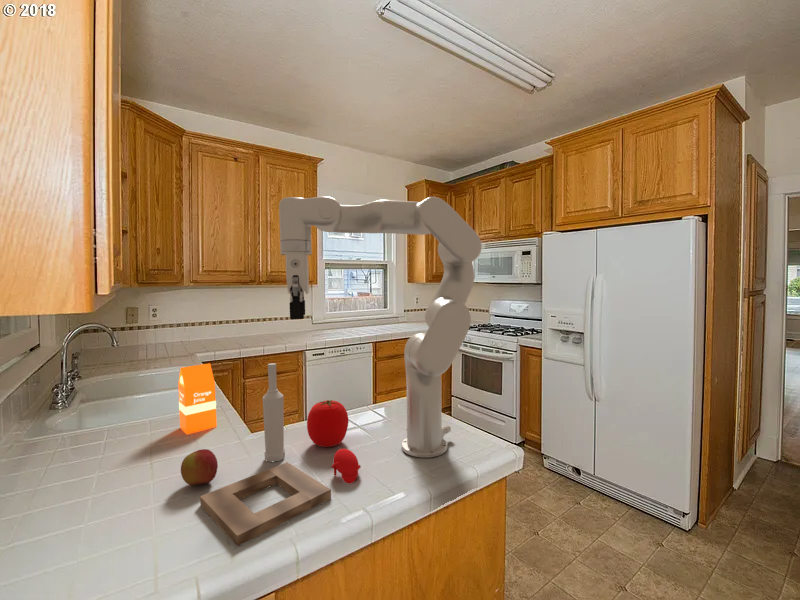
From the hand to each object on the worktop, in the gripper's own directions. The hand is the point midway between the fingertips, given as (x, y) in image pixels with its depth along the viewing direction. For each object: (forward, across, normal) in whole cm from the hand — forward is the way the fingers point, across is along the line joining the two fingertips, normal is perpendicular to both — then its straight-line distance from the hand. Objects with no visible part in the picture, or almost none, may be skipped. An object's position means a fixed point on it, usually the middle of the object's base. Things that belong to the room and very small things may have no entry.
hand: (298, 317), depth 97 cm
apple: (+38, -6, +22) cm, 44 cm away
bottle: (+38, +3, +7) cm, 38 cm away
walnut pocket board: (+37, -17, +6) cm, 42 cm away
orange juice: (+38, +31, +33) cm, 59 cm away
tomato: (+38, +9, -7) cm, 39 cm away
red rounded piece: (+38, -10, -11) cm, 40 cm away
